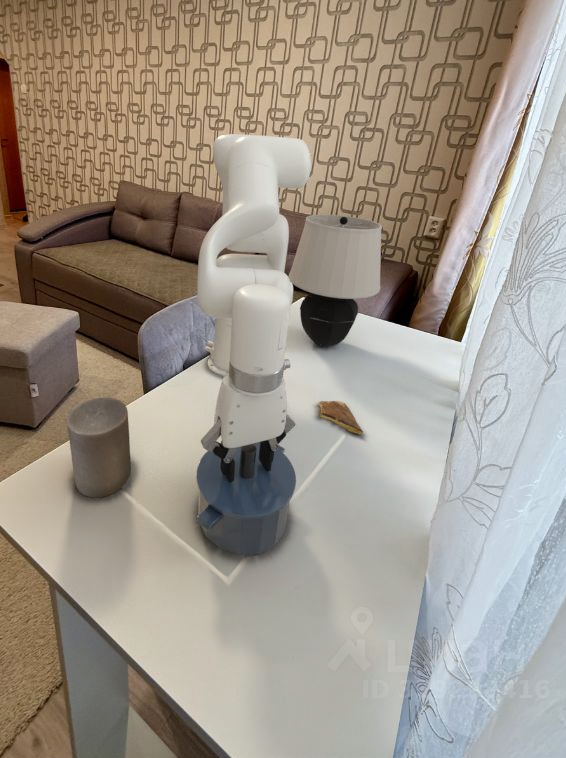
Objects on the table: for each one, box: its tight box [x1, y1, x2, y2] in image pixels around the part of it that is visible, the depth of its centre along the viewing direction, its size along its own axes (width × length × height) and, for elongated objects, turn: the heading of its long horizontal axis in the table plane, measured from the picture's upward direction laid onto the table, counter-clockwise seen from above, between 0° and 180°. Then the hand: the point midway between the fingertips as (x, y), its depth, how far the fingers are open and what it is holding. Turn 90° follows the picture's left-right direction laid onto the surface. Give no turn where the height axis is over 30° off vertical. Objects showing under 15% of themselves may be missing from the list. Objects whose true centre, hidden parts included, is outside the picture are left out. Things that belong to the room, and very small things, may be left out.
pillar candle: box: [66, 397, 132, 498], centre depth 68 cm, size 10×10×15 cm
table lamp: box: [288, 214, 383, 348], centre depth 118 cm, size 27×27×40 cm
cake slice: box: [318, 400, 364, 436], centre depth 89 cm, size 11×8×2 cm
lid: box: [195, 442, 297, 519], centre depth 62 cm, size 16×16×6 cm
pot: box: [196, 444, 291, 557], centre depth 64 cm, size 15×20×8 cm
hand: (246, 469), depth 62 cm, fingers open, 5 cm apart
